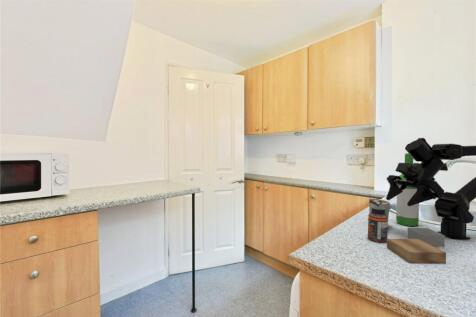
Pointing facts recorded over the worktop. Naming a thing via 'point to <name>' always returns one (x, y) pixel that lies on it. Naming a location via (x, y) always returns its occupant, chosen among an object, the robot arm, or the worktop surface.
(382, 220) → the supplement bottle
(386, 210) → the food container
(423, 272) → the worktop surface
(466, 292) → the worktop surface
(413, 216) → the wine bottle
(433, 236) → the slate block
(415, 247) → the walnut block
